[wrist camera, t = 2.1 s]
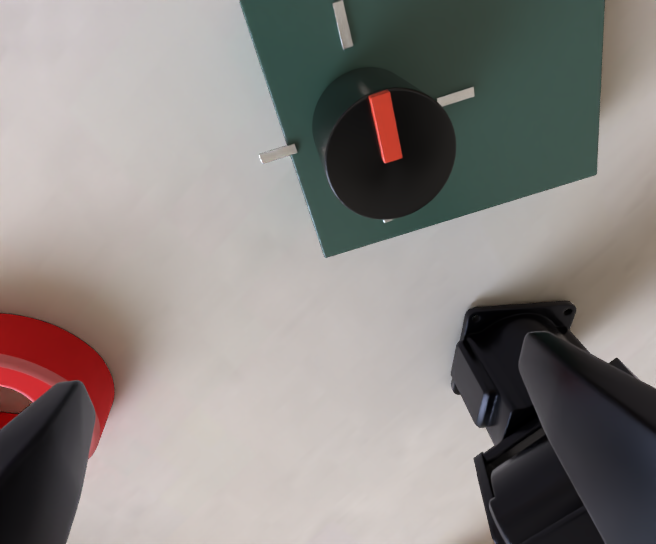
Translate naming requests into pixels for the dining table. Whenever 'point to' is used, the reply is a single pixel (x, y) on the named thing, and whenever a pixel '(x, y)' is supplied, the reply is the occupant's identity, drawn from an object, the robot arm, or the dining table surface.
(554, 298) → the dining table surface
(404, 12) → the control box
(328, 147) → the hob knob
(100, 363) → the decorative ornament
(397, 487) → the dining table surface
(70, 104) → the dining table surface
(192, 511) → the dining table surface
